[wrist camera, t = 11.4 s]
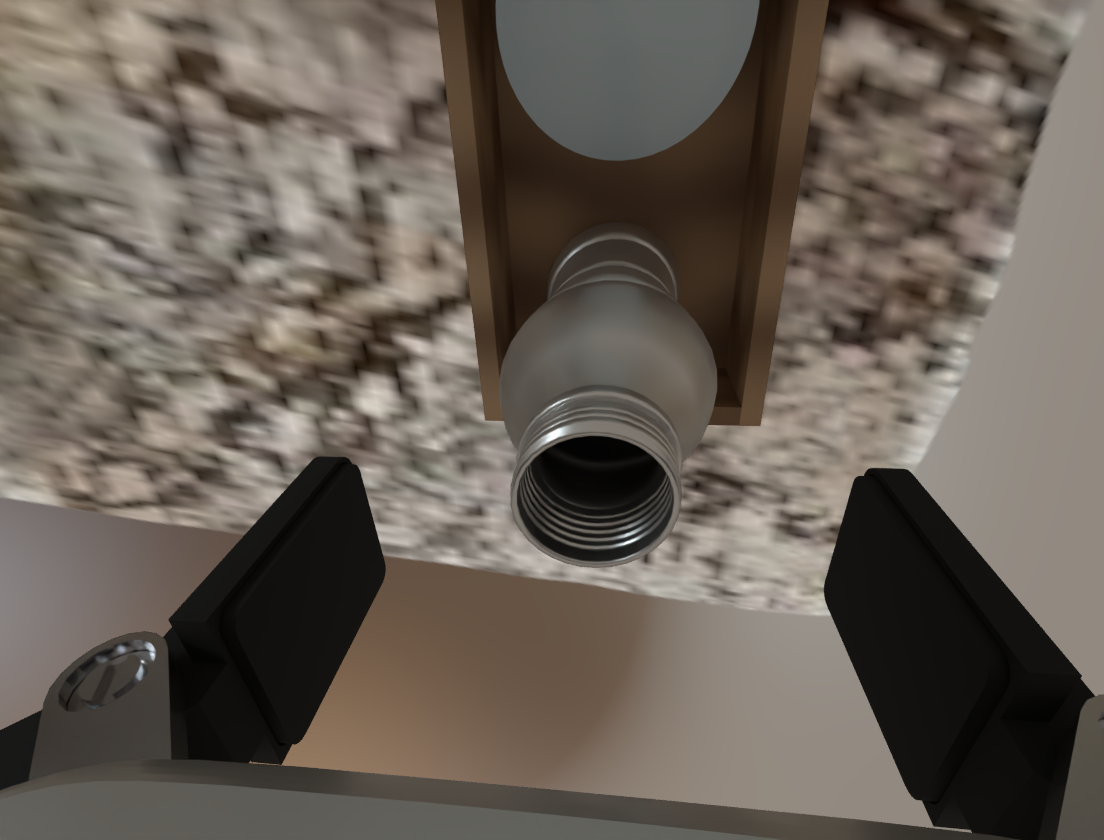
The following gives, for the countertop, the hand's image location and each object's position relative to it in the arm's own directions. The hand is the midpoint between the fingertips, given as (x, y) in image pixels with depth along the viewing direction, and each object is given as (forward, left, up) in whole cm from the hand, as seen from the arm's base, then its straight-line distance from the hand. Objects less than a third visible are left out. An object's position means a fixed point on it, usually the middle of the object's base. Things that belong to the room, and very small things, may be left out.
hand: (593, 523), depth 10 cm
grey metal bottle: (0, 0, -21) cm, 21 cm away
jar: (-10, 0, -21) cm, 23 cm away
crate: (-5, 0, -22) cm, 22 cm away
